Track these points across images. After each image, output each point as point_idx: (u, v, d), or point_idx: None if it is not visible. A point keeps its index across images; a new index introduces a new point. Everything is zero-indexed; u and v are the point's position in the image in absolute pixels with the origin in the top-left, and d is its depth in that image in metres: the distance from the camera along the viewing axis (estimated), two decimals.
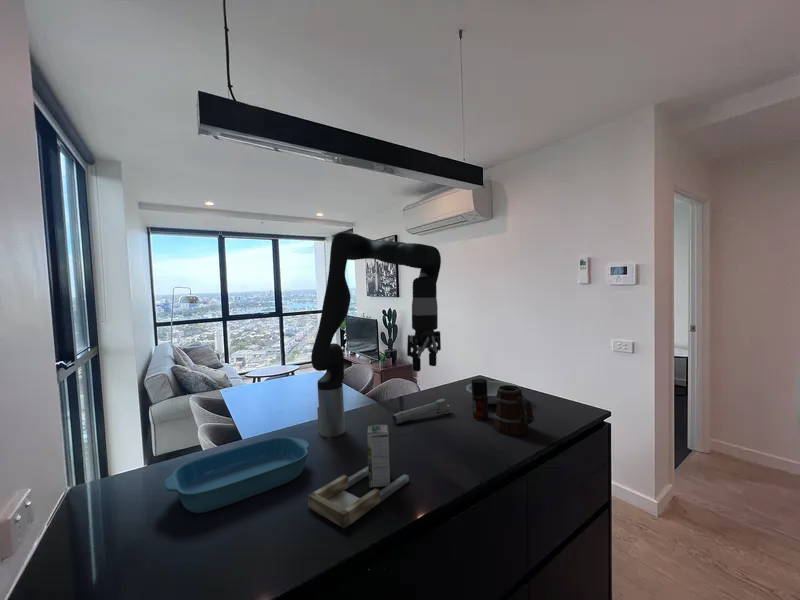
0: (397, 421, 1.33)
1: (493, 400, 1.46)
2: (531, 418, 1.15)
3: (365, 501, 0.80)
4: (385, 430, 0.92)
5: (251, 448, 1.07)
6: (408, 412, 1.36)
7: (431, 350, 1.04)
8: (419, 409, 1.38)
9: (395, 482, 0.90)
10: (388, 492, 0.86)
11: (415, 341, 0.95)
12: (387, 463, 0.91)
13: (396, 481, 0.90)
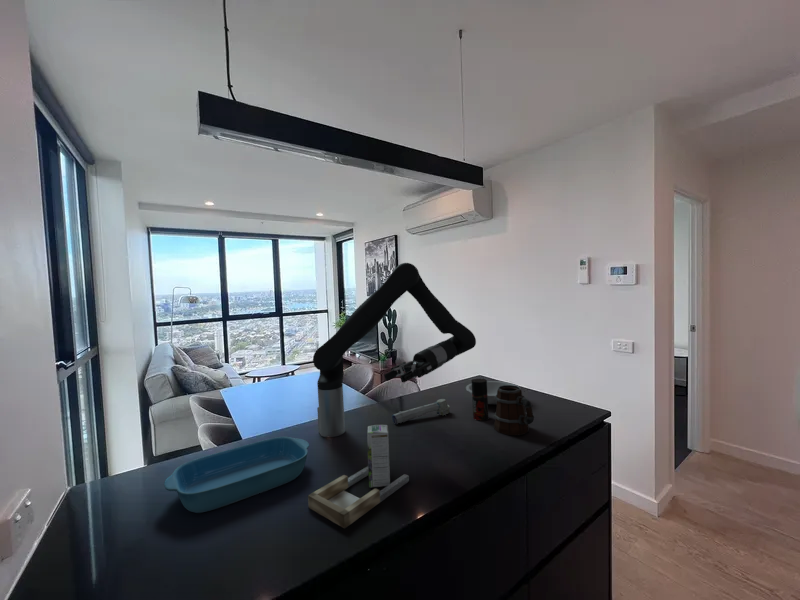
0: (397, 421, 1.33)
1: (493, 400, 1.46)
2: (531, 418, 1.15)
3: (365, 501, 0.80)
4: (385, 430, 0.92)
5: (251, 448, 1.07)
6: (408, 412, 1.36)
7: (396, 371, 1.11)
8: (419, 409, 1.38)
9: (395, 482, 0.90)
10: (388, 492, 0.86)
11: None
12: (387, 463, 0.91)
13: (396, 481, 0.90)
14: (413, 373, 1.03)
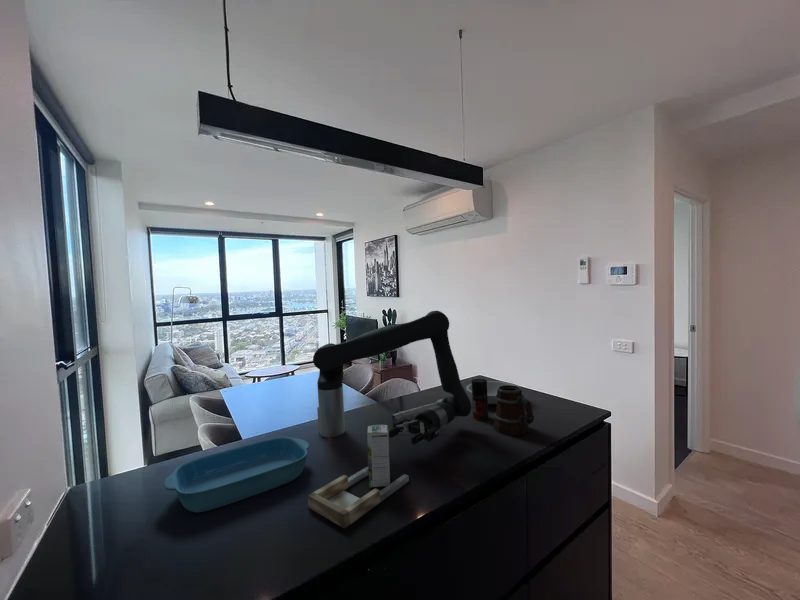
0: (396, 421, 1.33)
1: (493, 400, 1.46)
2: (531, 418, 1.15)
3: (365, 501, 0.80)
4: (385, 430, 0.92)
5: (252, 448, 1.07)
6: (407, 412, 1.36)
7: (399, 428, 1.07)
8: (419, 409, 1.38)
9: (395, 482, 0.90)
10: (388, 492, 0.86)
11: None
12: (387, 463, 0.91)
13: (396, 481, 0.90)
14: (423, 436, 1.00)
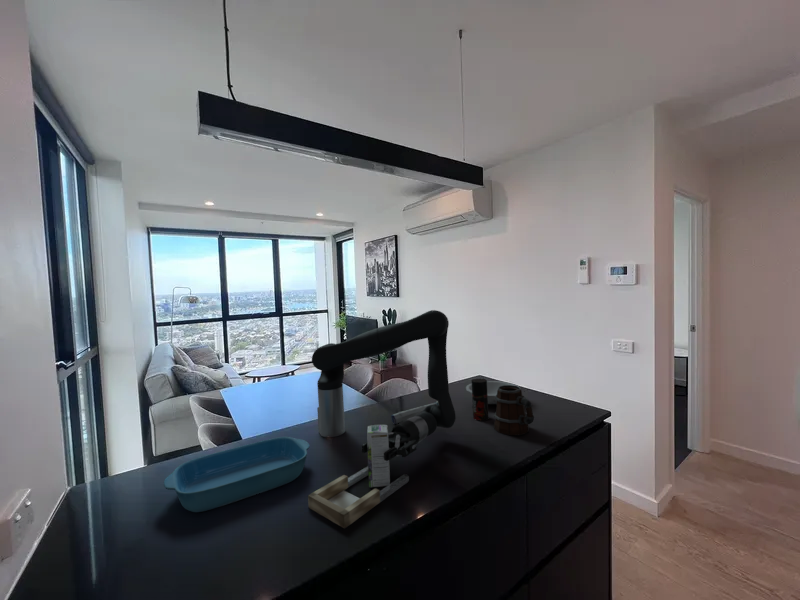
0: (396, 421, 1.33)
1: (493, 400, 1.46)
2: (531, 418, 1.15)
3: (365, 501, 0.80)
4: (385, 430, 0.92)
5: (253, 448, 1.07)
6: (407, 412, 1.36)
7: None
8: (418, 409, 1.38)
9: (395, 482, 0.90)
10: (388, 492, 0.86)
11: None
12: (387, 463, 0.91)
13: (396, 481, 0.90)
14: (397, 451, 0.91)
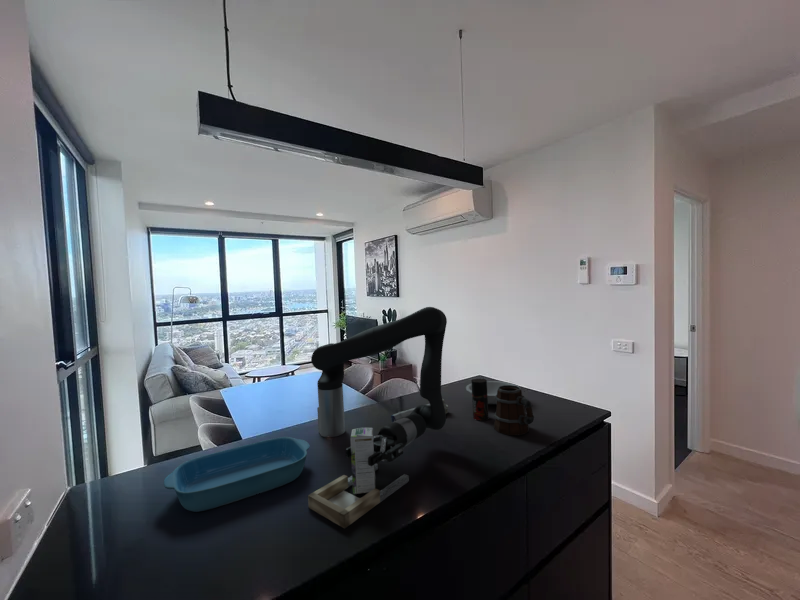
0: None
1: (493, 400, 1.46)
2: (531, 418, 1.15)
3: (365, 501, 0.80)
4: (369, 433, 0.87)
5: (253, 448, 1.07)
6: (407, 412, 1.36)
7: None
8: None
9: (395, 482, 0.90)
10: (388, 492, 0.86)
11: None
12: (372, 468, 0.86)
13: (396, 481, 0.90)
14: (383, 455, 0.87)
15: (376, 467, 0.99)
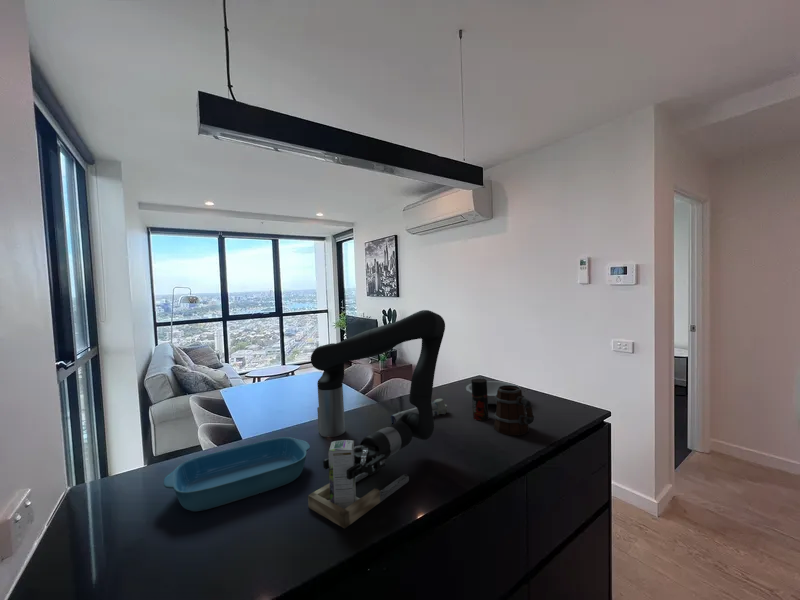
0: (396, 421, 1.33)
1: (493, 400, 1.46)
2: (531, 418, 1.15)
3: (365, 501, 0.80)
4: (349, 447, 0.82)
5: (254, 447, 1.07)
6: (407, 412, 1.36)
7: None
8: (417, 409, 1.38)
9: (395, 482, 0.90)
10: (388, 492, 0.86)
11: None
12: (351, 484, 0.81)
13: (396, 481, 0.90)
14: (363, 468, 0.81)
15: None
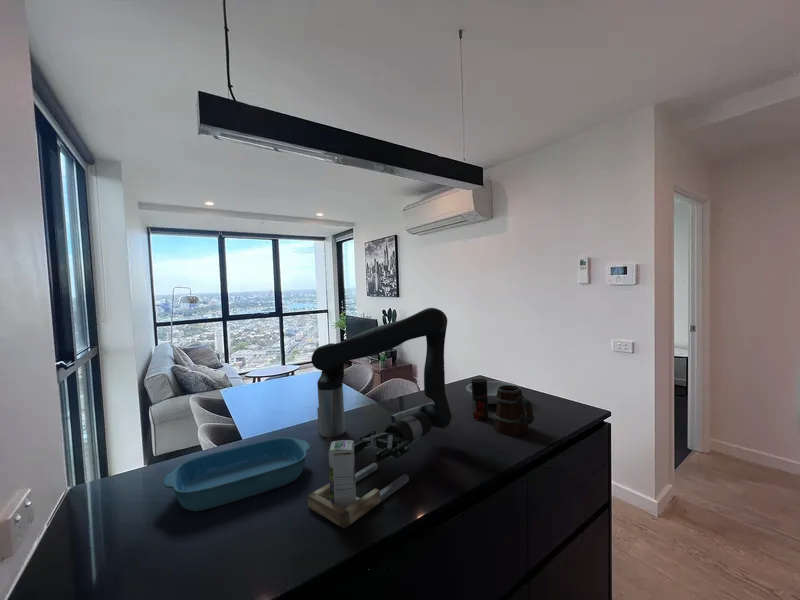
0: None
1: (493, 400, 1.46)
2: (531, 418, 1.15)
3: (365, 501, 0.80)
4: (349, 447, 0.82)
5: (254, 447, 1.07)
6: (407, 412, 1.36)
7: (366, 442, 0.96)
8: (417, 409, 1.38)
9: (395, 482, 0.90)
10: (388, 492, 0.86)
11: None
12: (351, 484, 0.81)
13: (396, 481, 0.90)
14: (390, 452, 0.89)
15: (376, 467, 0.99)
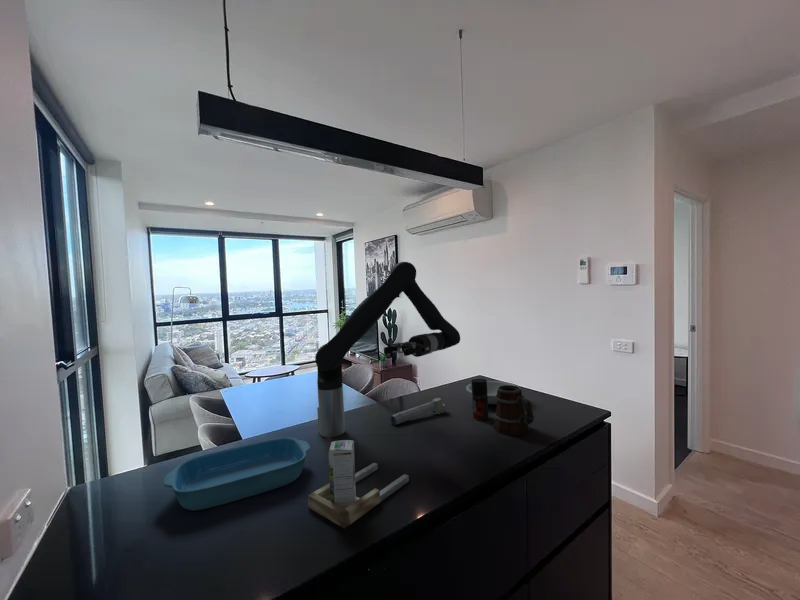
0: (396, 422, 1.32)
1: (493, 400, 1.46)
2: (531, 418, 1.15)
3: (365, 501, 0.80)
4: (349, 447, 0.82)
5: (256, 447, 1.07)
6: (406, 412, 1.36)
7: (393, 347, 1.18)
8: (417, 409, 1.38)
9: (395, 482, 0.90)
10: (388, 492, 0.86)
11: None
12: (351, 484, 0.81)
13: (396, 481, 0.90)
14: (414, 349, 1.12)
15: (376, 467, 0.99)
